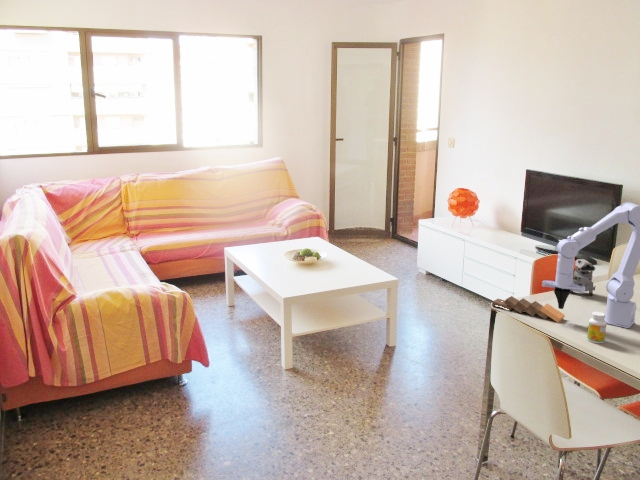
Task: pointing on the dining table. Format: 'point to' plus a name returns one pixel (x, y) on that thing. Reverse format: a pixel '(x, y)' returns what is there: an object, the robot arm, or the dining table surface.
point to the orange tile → (552, 312)
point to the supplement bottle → (597, 328)
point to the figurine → (584, 275)
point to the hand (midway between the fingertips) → (561, 308)
